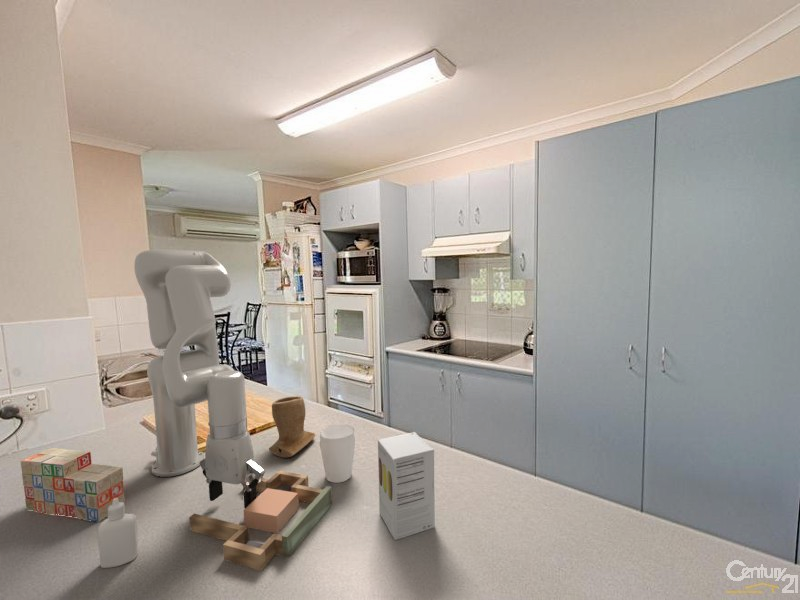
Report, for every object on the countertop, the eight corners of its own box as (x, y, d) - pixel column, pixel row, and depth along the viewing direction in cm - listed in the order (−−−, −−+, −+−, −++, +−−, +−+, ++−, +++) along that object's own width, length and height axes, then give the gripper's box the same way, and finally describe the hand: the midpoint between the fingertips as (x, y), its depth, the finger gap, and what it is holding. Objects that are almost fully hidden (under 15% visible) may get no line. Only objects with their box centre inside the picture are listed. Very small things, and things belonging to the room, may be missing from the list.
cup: (349, 487, 89) (347, 440, 88) (315, 484, 91) (313, 437, 90) (360, 468, 98) (359, 425, 97) (329, 465, 100) (327, 423, 99)
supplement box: (378, 512, 79) (376, 438, 78) (416, 501, 83) (414, 430, 82) (394, 542, 71) (392, 459, 69) (436, 527, 74) (435, 448, 73)
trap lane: (172, 544, 71) (171, 525, 71) (258, 477, 94) (257, 462, 94) (274, 574, 64) (273, 553, 63) (340, 493, 87) (339, 477, 86)
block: (244, 528, 76) (243, 510, 76) (267, 504, 84) (267, 488, 83) (277, 534, 74) (276, 516, 74) (298, 509, 82) (297, 493, 81)
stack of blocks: (126, 505, 84) (122, 454, 83) (98, 523, 78) (93, 468, 77) (56, 494, 89) (51, 446, 88) (25, 511, 83) (19, 459, 82)
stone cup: (288, 434, 120) (286, 390, 119) (320, 438, 116) (318, 392, 115) (257, 456, 105) (255, 406, 104) (293, 462, 102) (290, 410, 101)
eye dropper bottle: (117, 550, 70) (112, 491, 69) (143, 551, 69) (139, 492, 69) (96, 568, 66) (90, 505, 65) (124, 570, 65) (118, 507, 64)
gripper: (184, 430, 79) (189, 504, 81) (248, 440, 74) (252, 519, 75) (212, 417, 86) (216, 485, 88) (272, 425, 81) (276, 498, 82)
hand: (233, 501), depth 81 cm, fingers open, 9 cm apart
